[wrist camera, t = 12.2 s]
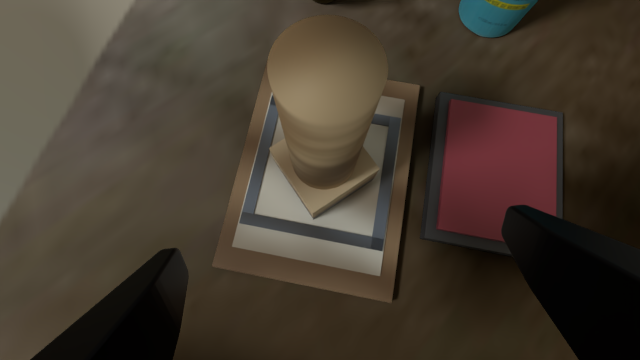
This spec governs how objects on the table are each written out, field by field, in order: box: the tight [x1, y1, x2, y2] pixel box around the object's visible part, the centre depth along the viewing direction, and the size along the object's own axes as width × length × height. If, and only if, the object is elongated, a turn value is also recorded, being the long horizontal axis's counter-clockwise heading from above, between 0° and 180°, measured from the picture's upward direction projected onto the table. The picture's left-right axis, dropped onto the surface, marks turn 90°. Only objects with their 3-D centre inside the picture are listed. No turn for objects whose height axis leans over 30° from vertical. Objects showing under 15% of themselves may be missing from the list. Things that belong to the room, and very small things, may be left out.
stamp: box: [267, 15, 388, 220], centre depth 17 cm, size 5×5×12 cm
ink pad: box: [420, 92, 563, 257], centre depth 23 cm, size 11×9×1 cm
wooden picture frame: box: [212, 60, 420, 303], centre depth 23 cm, size 16×12×1 cm
